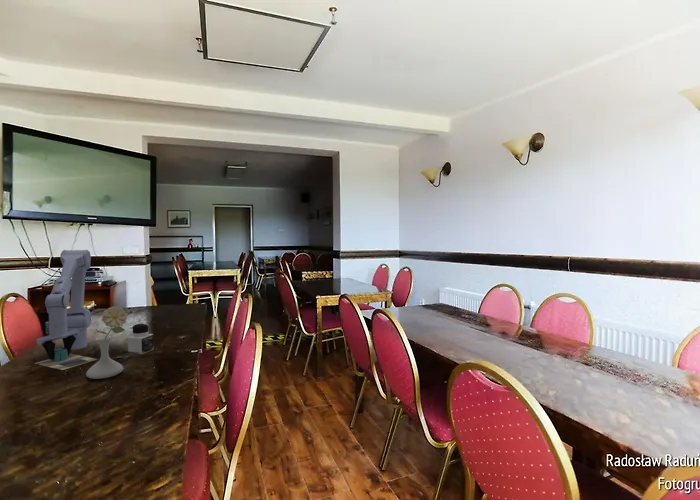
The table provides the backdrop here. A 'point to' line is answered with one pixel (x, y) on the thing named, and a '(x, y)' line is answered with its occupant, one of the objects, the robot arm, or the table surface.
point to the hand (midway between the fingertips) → (59, 357)
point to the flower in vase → (106, 364)
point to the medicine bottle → (140, 339)
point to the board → (67, 362)
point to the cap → (60, 354)
